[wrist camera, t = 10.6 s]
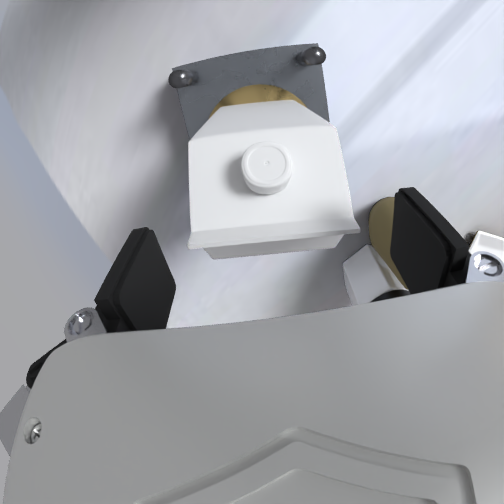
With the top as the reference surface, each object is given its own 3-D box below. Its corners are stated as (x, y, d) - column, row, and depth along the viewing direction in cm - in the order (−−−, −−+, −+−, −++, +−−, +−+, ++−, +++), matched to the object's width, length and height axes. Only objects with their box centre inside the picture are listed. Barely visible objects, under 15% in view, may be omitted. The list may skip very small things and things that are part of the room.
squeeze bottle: (361, 245, 40) (409, 347, 25) (358, 193, 35) (422, 287, 20) (411, 235, 39) (473, 325, 24) (413, 184, 34) (494, 265, 19)
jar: (358, 298, 45) (380, 357, 35) (329, 271, 42) (349, 334, 32) (402, 265, 42) (435, 320, 32) (378, 233, 38) (413, 290, 29)
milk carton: (298, 167, 29) (353, 295, 13) (229, 174, 30) (204, 309, 14) (293, 99, 25) (365, 145, 10) (219, 106, 26) (166, 164, 10)
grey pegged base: (181, 68, 27) (156, 67, 19) (310, 46, 25) (331, 37, 18) (216, 211, 37) (207, 251, 29) (328, 193, 35) (348, 230, 28)
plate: (482, 310, 50) (486, 317, 48) (426, 309, 48) (430, 317, 46) (523, 241, 39) (529, 247, 37) (472, 224, 38) (479, 231, 36)
